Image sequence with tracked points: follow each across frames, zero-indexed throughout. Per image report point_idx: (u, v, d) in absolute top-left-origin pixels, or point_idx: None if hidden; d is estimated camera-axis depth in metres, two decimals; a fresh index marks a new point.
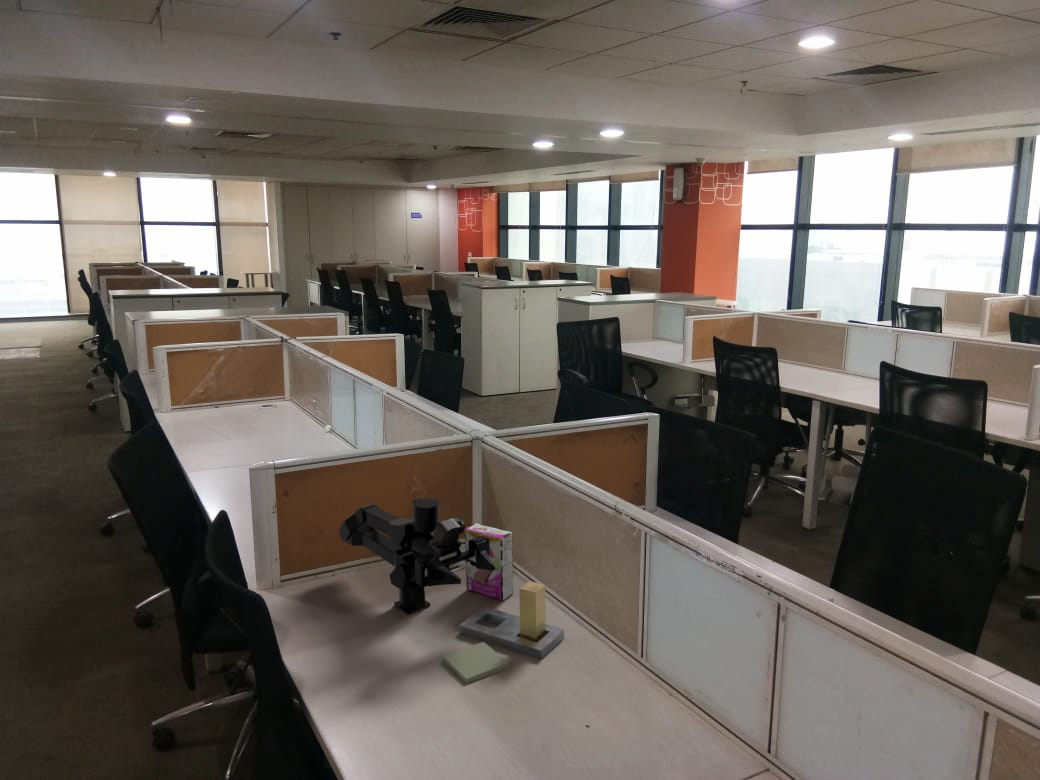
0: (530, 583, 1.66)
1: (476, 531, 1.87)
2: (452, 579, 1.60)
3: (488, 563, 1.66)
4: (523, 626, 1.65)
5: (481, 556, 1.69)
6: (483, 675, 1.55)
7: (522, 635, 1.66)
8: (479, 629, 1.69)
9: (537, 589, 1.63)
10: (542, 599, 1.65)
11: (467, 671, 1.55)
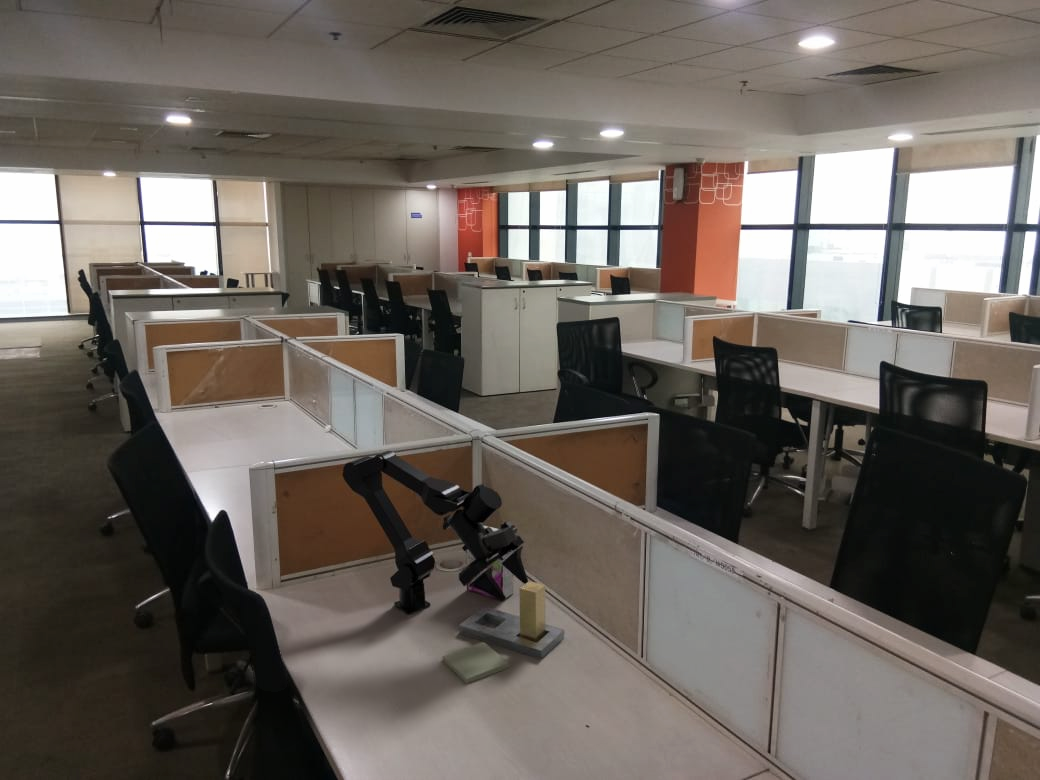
0: (530, 583, 1.66)
1: None
2: (497, 594, 1.63)
3: (522, 575, 1.71)
4: (523, 626, 1.65)
5: (516, 563, 1.72)
6: (483, 675, 1.55)
7: (522, 635, 1.66)
8: (479, 629, 1.69)
9: (537, 589, 1.63)
10: (542, 599, 1.65)
11: (467, 671, 1.55)
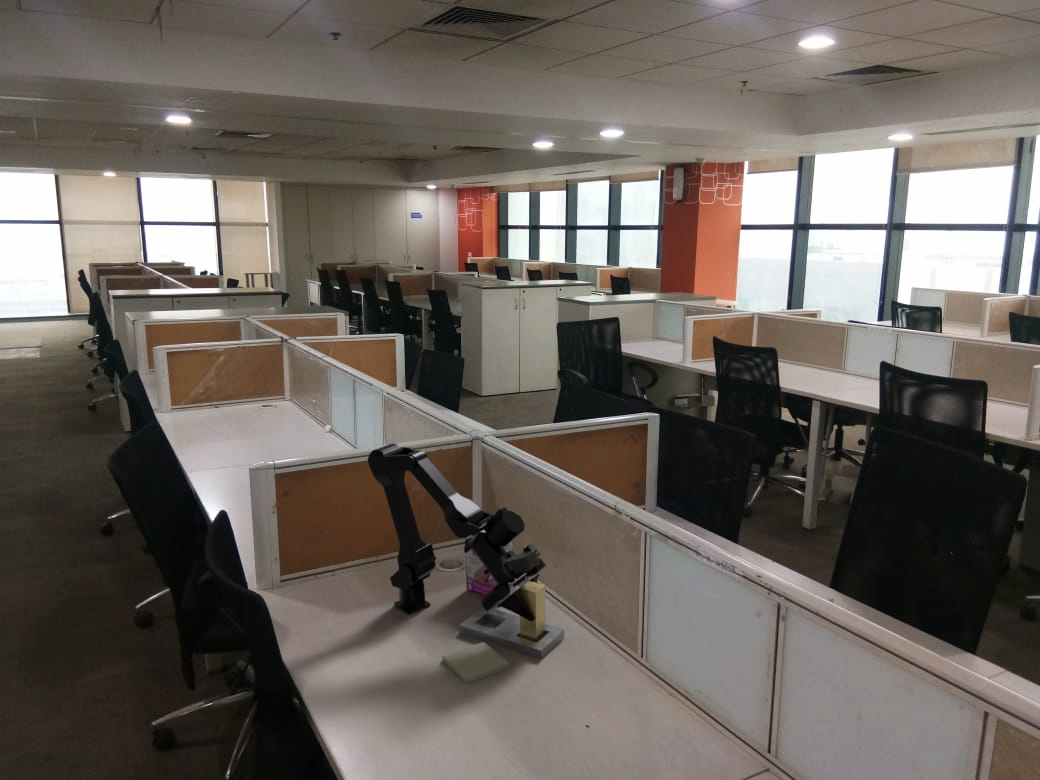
0: (530, 583, 1.66)
1: None
2: (526, 614, 1.63)
3: None
4: (523, 626, 1.65)
5: None
6: (483, 675, 1.55)
7: (522, 635, 1.66)
8: (479, 629, 1.69)
9: (537, 589, 1.63)
10: (542, 599, 1.65)
11: (467, 671, 1.55)
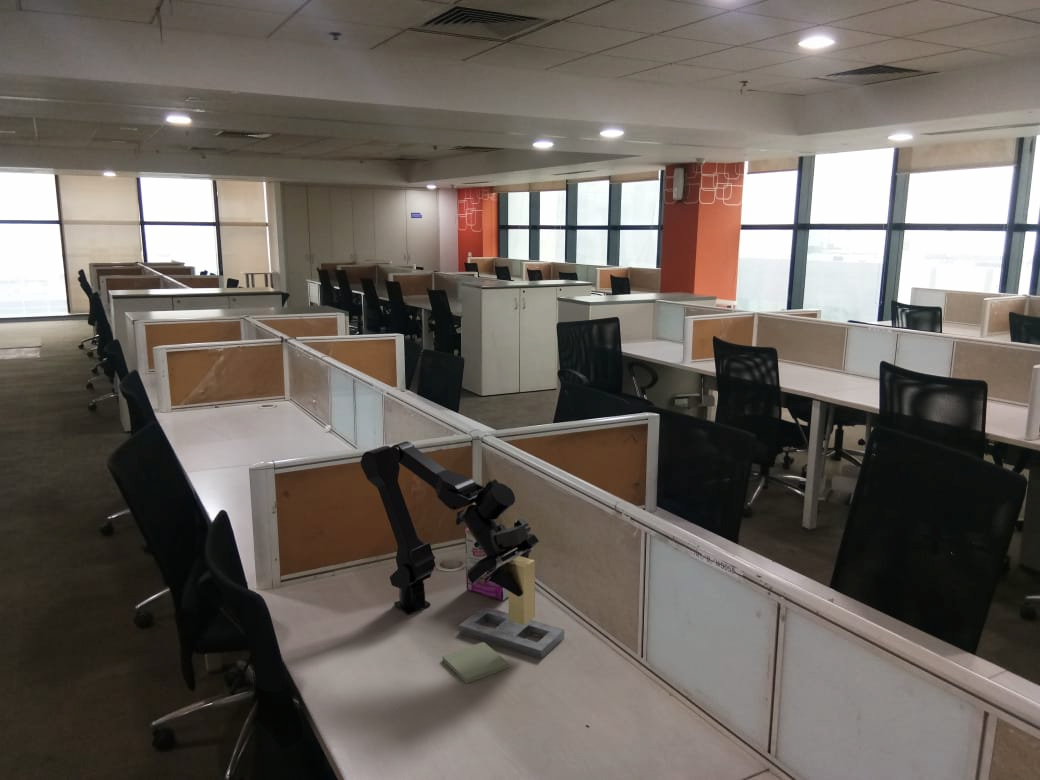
0: (520, 558, 1.63)
1: None
2: (513, 589, 1.60)
3: None
4: (511, 601, 1.62)
5: None
6: (483, 675, 1.55)
7: (511, 610, 1.63)
8: (479, 629, 1.69)
9: (526, 564, 1.60)
10: (531, 574, 1.61)
11: (467, 671, 1.55)
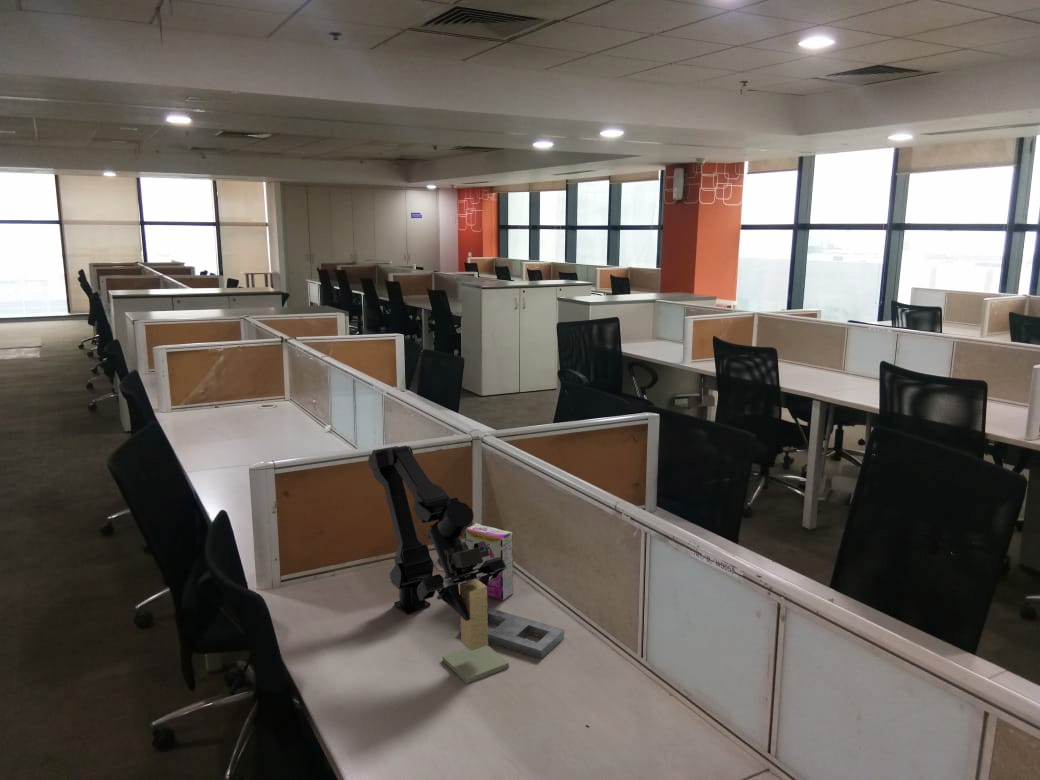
0: (475, 581, 1.57)
1: (476, 531, 1.87)
2: (461, 613, 1.55)
3: None
4: (462, 624, 1.57)
5: None
6: (483, 675, 1.55)
7: (462, 633, 1.58)
8: None
9: (474, 589, 1.54)
10: (482, 600, 1.55)
11: (467, 671, 1.55)
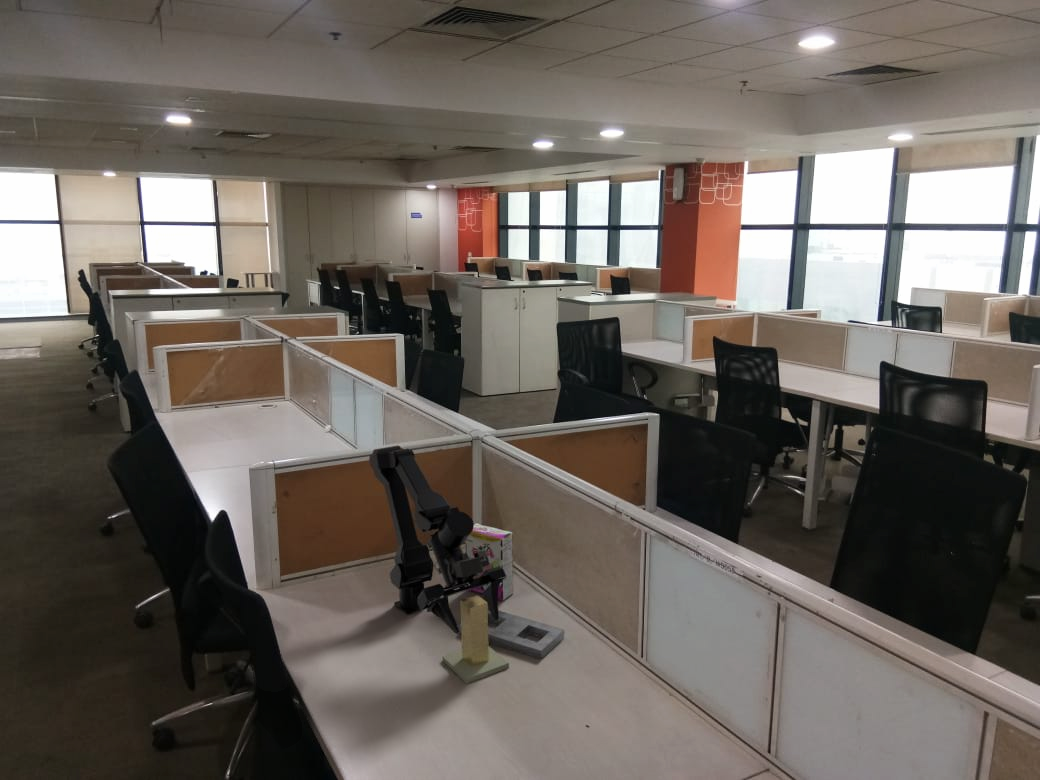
0: (475, 597, 1.58)
1: (476, 531, 1.87)
2: (451, 626, 1.54)
3: (493, 611, 1.59)
4: (463, 640, 1.58)
5: (490, 597, 1.60)
6: (483, 675, 1.55)
7: (463, 649, 1.59)
8: None
9: (475, 605, 1.55)
10: (482, 616, 1.56)
11: (467, 671, 1.55)
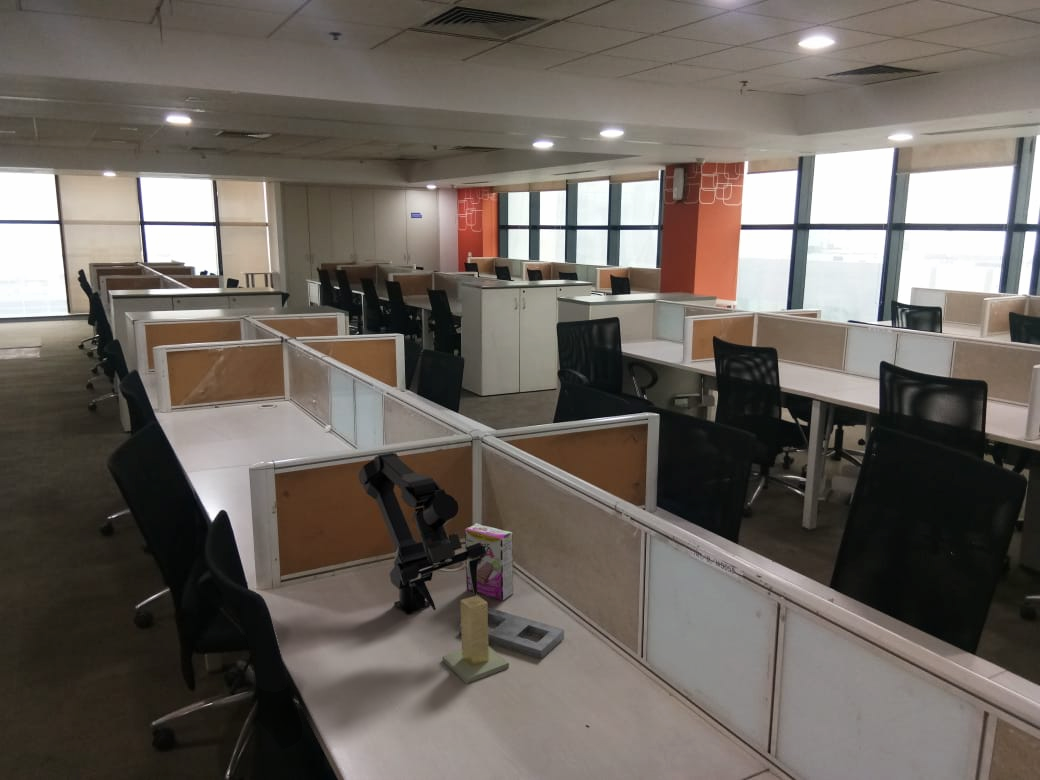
0: (475, 597, 1.58)
1: (476, 531, 1.87)
2: (429, 603, 1.64)
3: (472, 587, 1.66)
4: (463, 640, 1.58)
5: (470, 573, 1.66)
6: (483, 675, 1.55)
7: (463, 649, 1.59)
8: None
9: (475, 605, 1.55)
10: (482, 616, 1.56)
11: (467, 671, 1.55)
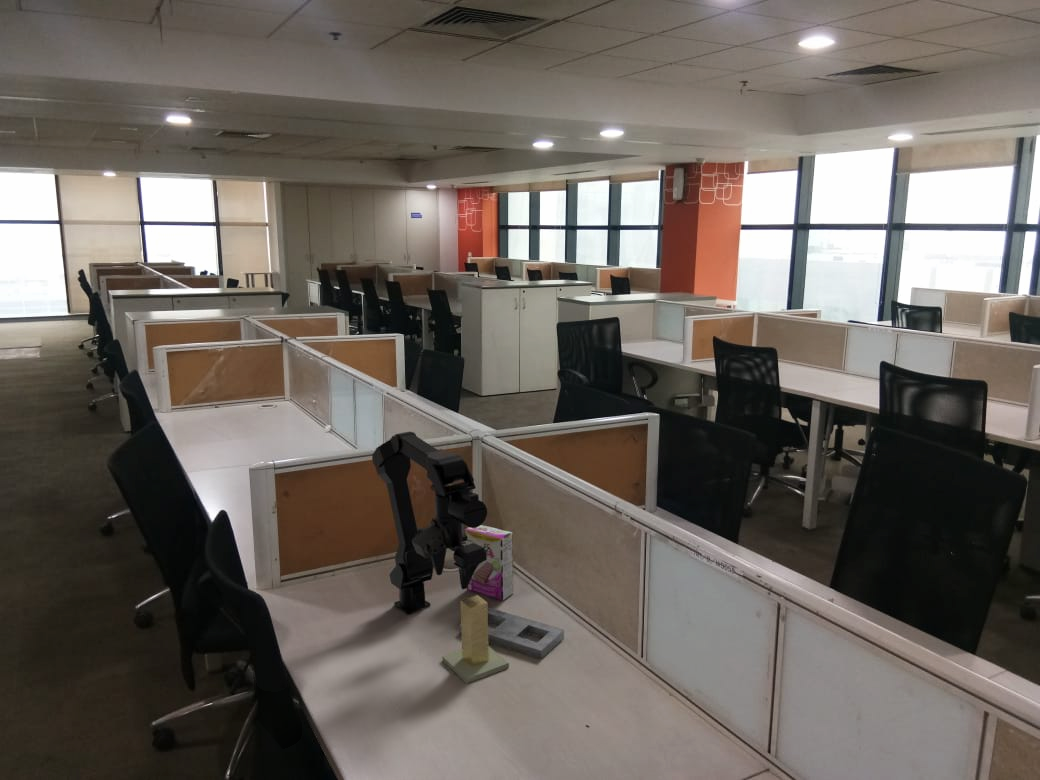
0: (475, 597, 1.58)
1: (476, 531, 1.87)
2: None
3: None
4: (463, 640, 1.58)
5: None
6: (483, 675, 1.55)
7: (463, 649, 1.59)
8: None
9: (475, 605, 1.55)
10: (482, 616, 1.56)
11: (467, 671, 1.55)
